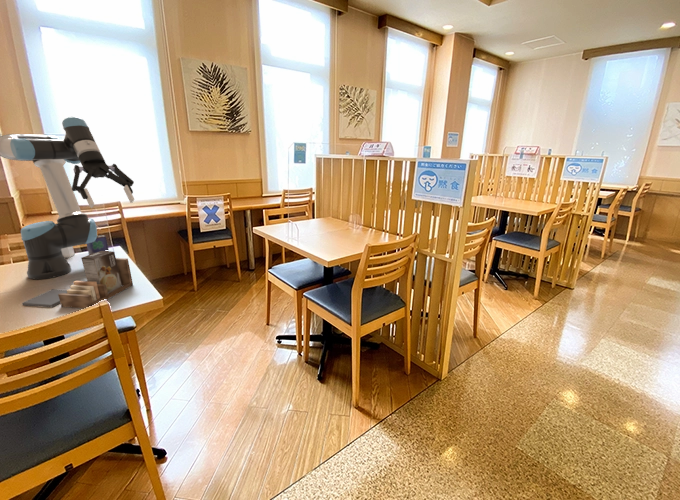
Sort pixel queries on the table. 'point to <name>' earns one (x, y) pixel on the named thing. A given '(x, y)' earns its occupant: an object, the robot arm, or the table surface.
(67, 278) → the table surface
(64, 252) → the jar
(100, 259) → the coffee box
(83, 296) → the walnut rack
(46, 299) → the rubber mat
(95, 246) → the flask
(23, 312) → the table surface
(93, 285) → the offcut stack
